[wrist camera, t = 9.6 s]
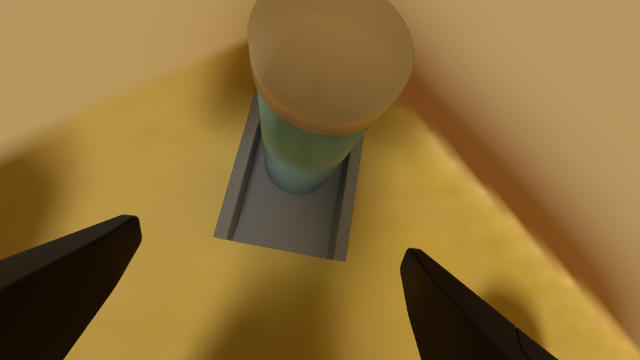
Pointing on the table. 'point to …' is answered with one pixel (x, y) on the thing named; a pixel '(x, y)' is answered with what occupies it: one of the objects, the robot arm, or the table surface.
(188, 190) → the table surface
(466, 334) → the robot arm
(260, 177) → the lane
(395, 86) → the jar
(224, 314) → the table surface
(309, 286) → the table surface
